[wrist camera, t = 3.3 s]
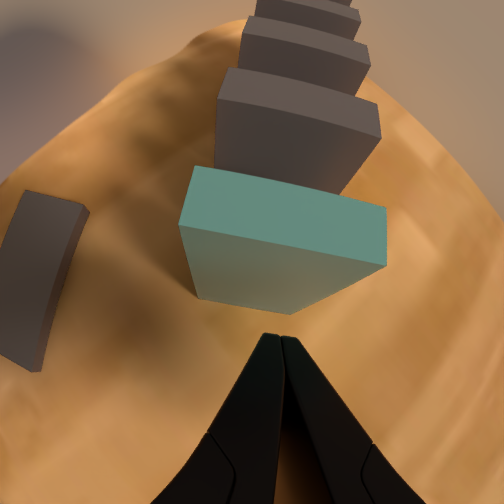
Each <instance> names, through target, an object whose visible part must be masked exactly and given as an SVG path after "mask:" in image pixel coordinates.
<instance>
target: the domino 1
mask: <svg viewBox="0 0 504 504" xmlns="http://www.w3.org/2000/svg"><path fill="white" fill-rule="evenodd" d="M178 226H179V230H180V234H181V238H182V242H183V245H184V249H185V253H186V257H187V261H188V264H189V268H190V271H191V275H192V279H193V282H194V286H195V289H196V293H197V296H198V298H199V299H204V300H209V301H214V302H220V303H225V304H230V305H236V306H241V307H247V308H253V309H258V310H264V311H270V312H276V313H282V314H289V315H291V314H293V313H295V312H297V311H300V310H302V309H304V308H306V307H308V306H310V305H312V304H314V303H316V302H318V301H320V300H322V299H324V298H326V297H328V296H330V295H332V294H334V293H336V292H338V291H340V290H342V289H344V288H346V287H348V286H350V285H352V284H354V283H356V282H357V281H359V280H361V279H363V278H365V277H367V276H369V275H371V274H373V273H374V272H376V271H378V270H380V269H382V268H384V267H385V266H387V214H386V208H385V207H382V206H378V205H374V204H371V203H367V202H363V201H359V200H356V199H352V198H348V197H344V196H340V195H336V194H332V193H328V192H324V191H320V190H316V189H311V188H307V187H303V186H298V185H294V184H289V183H285V182H280V181H275V180H271V179H266V178H261V177H256V176H251V175H246V174H241V173H236V172H230V171H225V170H219V169H214V168H208V167H202V166H196V165H195V167H194V170H193V174H192V177H191V181H190V184H189V187H188V191H187V194H186V198H185V201H184V205H183V209H182V212H181V216H180V220H179V224H178Z"/></svg>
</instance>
